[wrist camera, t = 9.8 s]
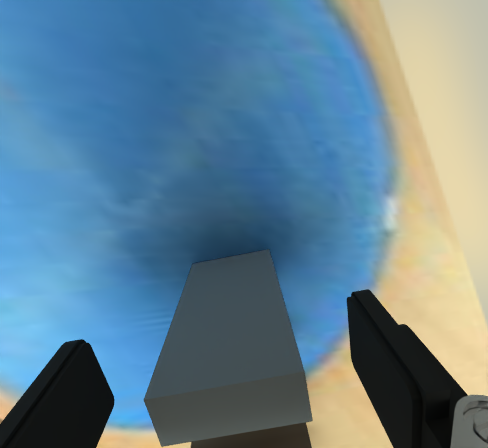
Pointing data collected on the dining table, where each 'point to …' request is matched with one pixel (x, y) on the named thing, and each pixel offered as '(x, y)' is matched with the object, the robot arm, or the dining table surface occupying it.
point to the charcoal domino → (228, 356)
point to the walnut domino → (261, 439)
